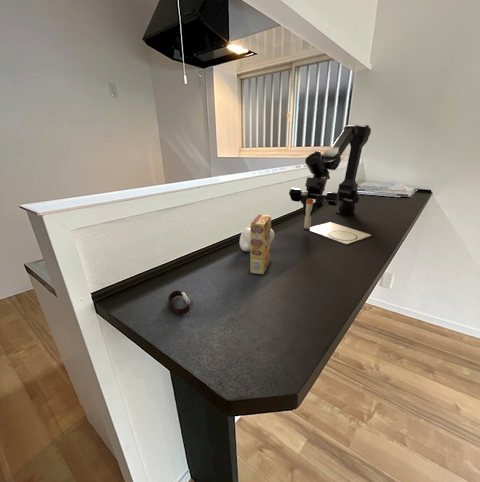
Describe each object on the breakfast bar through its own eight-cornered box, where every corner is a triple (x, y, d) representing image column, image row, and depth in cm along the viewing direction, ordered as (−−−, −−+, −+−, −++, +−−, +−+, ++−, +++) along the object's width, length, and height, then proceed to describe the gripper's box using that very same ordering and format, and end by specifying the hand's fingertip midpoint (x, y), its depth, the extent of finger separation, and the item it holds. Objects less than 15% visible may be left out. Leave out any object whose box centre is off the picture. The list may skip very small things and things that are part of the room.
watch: (195, 312, 60) (194, 299, 59) (176, 319, 58) (174, 305, 57) (183, 296, 66) (181, 283, 65) (164, 302, 64) (162, 289, 62)
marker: (302, 230, 106) (305, 199, 100) (306, 228, 107) (309, 198, 101) (306, 232, 104) (310, 201, 98) (311, 230, 105) (314, 200, 99)
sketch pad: (305, 229, 111) (305, 228, 111) (330, 222, 119) (330, 221, 119) (346, 244, 96) (346, 243, 96) (371, 235, 104) (371, 234, 104)
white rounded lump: (230, 251, 91) (229, 226, 87) (252, 241, 99) (253, 218, 95) (255, 261, 84) (256, 234, 80) (277, 249, 92) (279, 225, 88)
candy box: (263, 275, 76) (265, 224, 69) (249, 273, 77) (250, 223, 70) (269, 262, 83) (272, 215, 77) (256, 260, 84) (258, 214, 78)
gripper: (292, 167, 102) (279, 201, 99) (342, 170, 94) (330, 207, 90) (297, 184, 112) (286, 216, 108) (343, 188, 103) (332, 223, 100)
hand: (307, 215), depth 101 cm, fingers closed on marker, 2 cm apart
